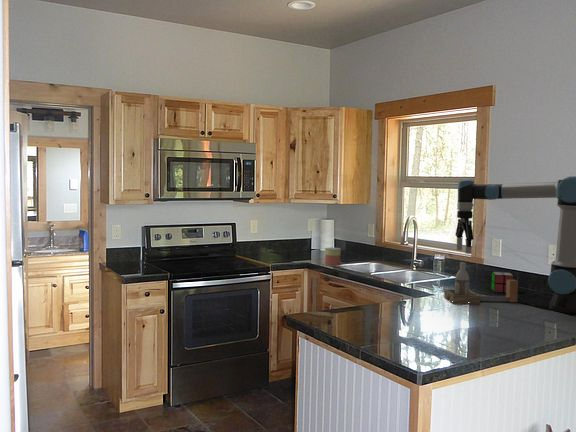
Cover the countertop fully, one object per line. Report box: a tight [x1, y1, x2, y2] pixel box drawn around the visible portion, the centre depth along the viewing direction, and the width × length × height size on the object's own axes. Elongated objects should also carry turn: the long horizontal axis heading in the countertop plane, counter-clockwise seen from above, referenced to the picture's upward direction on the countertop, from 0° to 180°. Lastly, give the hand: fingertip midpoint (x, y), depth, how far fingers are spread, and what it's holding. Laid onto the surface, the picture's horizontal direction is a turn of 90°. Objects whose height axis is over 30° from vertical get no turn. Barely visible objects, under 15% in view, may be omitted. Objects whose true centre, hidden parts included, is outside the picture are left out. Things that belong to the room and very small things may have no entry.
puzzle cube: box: [491, 271, 515, 294], centre depth 315 cm, size 10×10×10 cm
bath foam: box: [454, 261, 470, 295], centre depth 285 cm, size 7×7×20 cm
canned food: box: [324, 247, 342, 267], centre depth 401 cm, size 11×11×12 cm
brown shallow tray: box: [443, 288, 481, 306], centre depth 285 cm, size 15×13×4 cm
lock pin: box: [480, 279, 519, 303], centre depth 285 cm, size 4×22×11 cm, turn 91°
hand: (463, 251), depth 284 cm, fingers open, 13 cm apart
